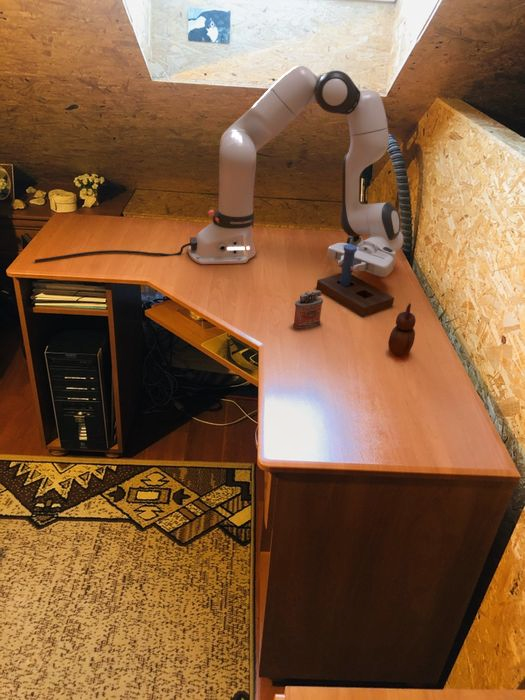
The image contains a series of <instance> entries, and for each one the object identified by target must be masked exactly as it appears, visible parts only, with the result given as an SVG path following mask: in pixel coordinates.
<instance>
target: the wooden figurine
mask: <svg viewBox="0 0 525 700" xmlns="http://www.w3.org/2000/svg"><path fill="white" fill-rule="evenodd" d="M411 309H412V304H411V302H409V303H408V305H407V306H406V309H405V311H401V312H399V313H398V314H397V316H396V319H395V326H394V327H393V328H392V329H391V331H390V334H389V338H388V344H387V345H388V350H389V352H390V354H392V355H393V356H395V357H398V358H403V357H405V356H407V355H409V353H410V351H411V350H412V348H413V345H414V343H415V338H416V330H415V329H414V328H415V325H416V323H417V322H416V316H415V314H414V313H412V312H411Z"/></svg>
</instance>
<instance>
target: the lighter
mask: <svg viewBox="0 0 525 700" xmlns="http://www.w3.org/2000/svg"><path fill="white" fill-rule="evenodd" d="M321 296H322V292H321V291H320V290H313V291H308V290H307V291H305V293H300V294H299V299H298V300H295V302H294V306H295V307H294V308H295V309H294V319H293V324H292V328H293V330H295V331H303V330H309V329H313V328H316V327H318V326H321V315H322V308H323V307H322V306H323V303H324V299H323V298H322V297H321Z"/></svg>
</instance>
